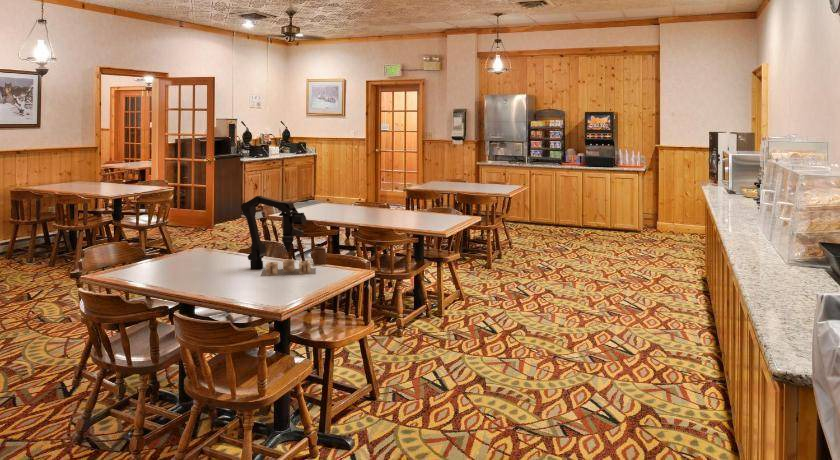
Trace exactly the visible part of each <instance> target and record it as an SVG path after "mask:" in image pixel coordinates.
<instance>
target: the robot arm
mask: <svg viewBox="0 0 840 460" xmlns="http://www.w3.org/2000/svg"><path fill="white" fill-rule="evenodd" d="M260 205H265V206H268V207H272V208H275V209H277V210H278V211H280V213H279V214H278V216H279V217H282V237H281V242H282V244H283V245H284V248H285V250H286V253H288V254H289V253H291V252H290V251H291V245H292V244H293V242H294V239H295V236H297V237H300V238H302V237H303V234H304V230H302V227H300V226H302V225H303V226H304V225H306V223H307V217H306V215H305V212H299V211H298V210H297V208H296V206H295V204H294V203H293V202H292V201H289V200H288V201H287V200H278V199H277V200H276V199H273V198H269V197H266V196H263V195H256V196H254V197H253V198H252V199H249V200H248V201H246V202H243V203H242V204H241V205H240V210H241V212H242V214H243V216H244V217H245V218H246V223H247V226H248V231H249V234H250V239H251V246H250V253H249V254H248V255H247V259H248V261H249V262H250V263H249V264H250V269H249V270H250V271H253V270H255V271H256V270H264V260H263V258H264V256H265V255H266V253H267V247H266V243H265V242H263V241H262V240H261V236H260V231H259V228H258V224H257V219H256V213H257V207H259V206H260ZM294 225H297V226H298V225H300V226H298V227H297V228H296V227H295V226H294Z"/></svg>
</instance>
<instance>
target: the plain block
mask: <svg viewBox="0 0 840 460" xmlns="http://www.w3.org/2000/svg"><path fill="white" fill-rule="evenodd" d="M282 269H283V272H294V270H295V269H296V268H295V259H294V258H293V259H283V261H282Z"/></svg>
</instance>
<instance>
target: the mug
mask: <svg viewBox="0 0 840 460" xmlns="http://www.w3.org/2000/svg"><path fill="white" fill-rule="evenodd" d="M310 258H311V259H312V261H313V262H312V263H313V265H317V266H321V265H322V266H323V265H326V264H327V250H326V248H324V247H318V248H317V247H316V248H313V249H312V250H311V252H310Z"/></svg>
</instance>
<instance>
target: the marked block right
mask: <svg viewBox="0 0 840 460" xmlns="http://www.w3.org/2000/svg"><path fill="white" fill-rule="evenodd" d="M310 268H311V260H302V261H301V260H300V261H299V262H298V269H299V274H310ZM310 275H311V274H310Z"/></svg>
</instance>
